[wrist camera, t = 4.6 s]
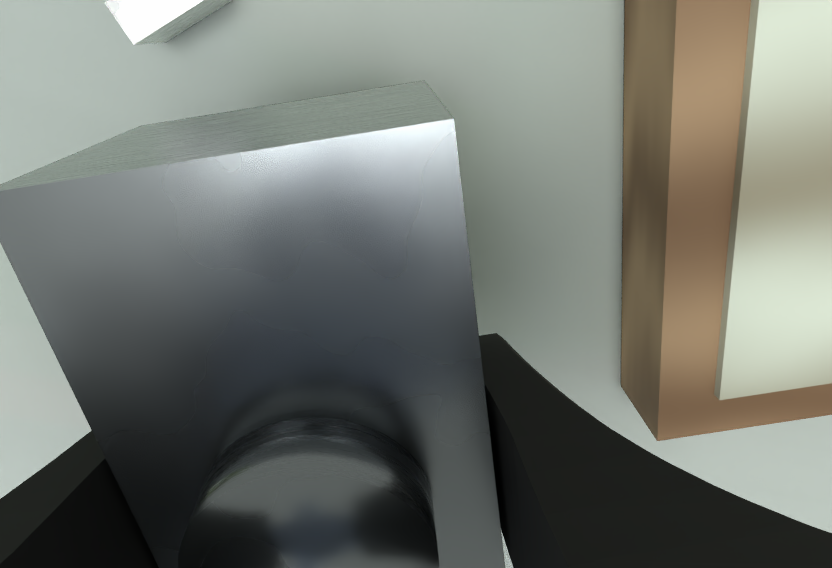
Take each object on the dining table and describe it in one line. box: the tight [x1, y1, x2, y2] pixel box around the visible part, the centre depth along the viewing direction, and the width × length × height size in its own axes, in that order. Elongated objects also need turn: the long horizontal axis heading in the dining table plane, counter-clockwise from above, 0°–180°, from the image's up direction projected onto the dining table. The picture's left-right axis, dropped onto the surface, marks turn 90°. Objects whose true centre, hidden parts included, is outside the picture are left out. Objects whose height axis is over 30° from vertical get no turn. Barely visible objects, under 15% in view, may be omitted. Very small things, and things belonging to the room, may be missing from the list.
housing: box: [0, 80, 505, 568], centre depth 9 cm, size 10×5×5 cm, turn 8°
